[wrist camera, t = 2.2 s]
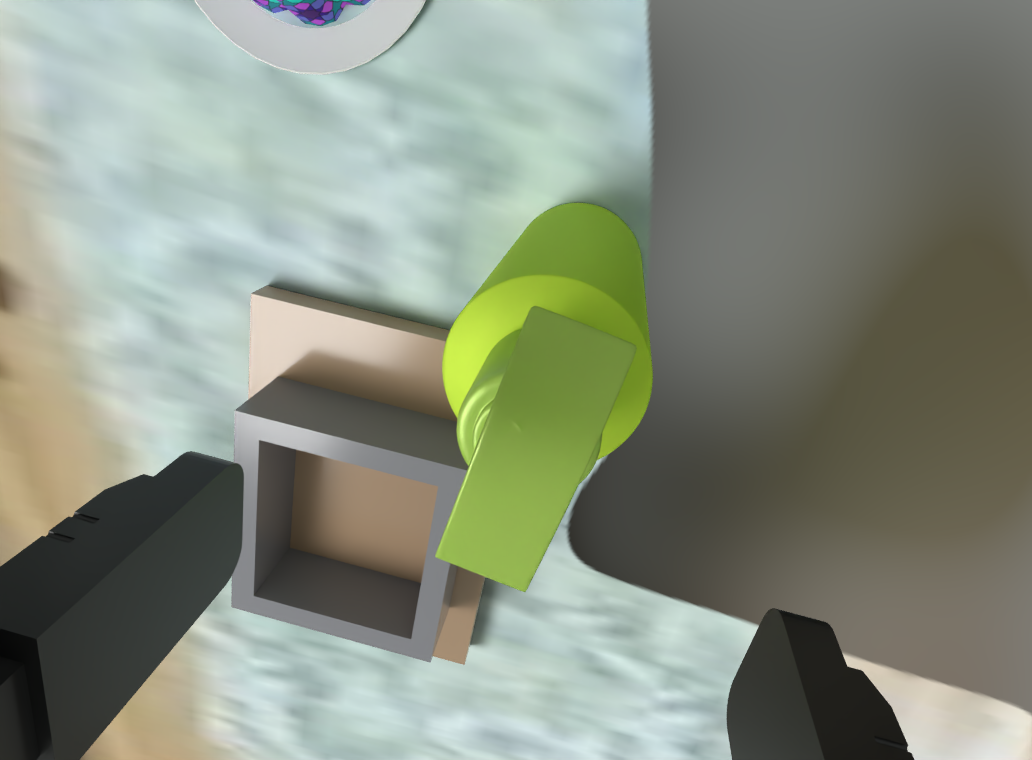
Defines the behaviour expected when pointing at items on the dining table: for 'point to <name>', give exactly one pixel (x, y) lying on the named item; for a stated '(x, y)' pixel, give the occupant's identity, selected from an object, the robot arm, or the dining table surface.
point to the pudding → (312, 31)
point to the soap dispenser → (543, 384)
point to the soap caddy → (350, 478)
